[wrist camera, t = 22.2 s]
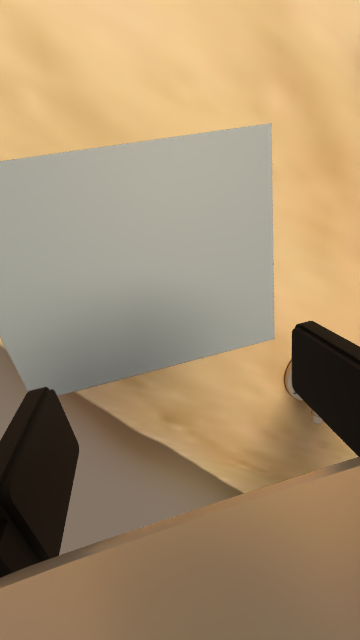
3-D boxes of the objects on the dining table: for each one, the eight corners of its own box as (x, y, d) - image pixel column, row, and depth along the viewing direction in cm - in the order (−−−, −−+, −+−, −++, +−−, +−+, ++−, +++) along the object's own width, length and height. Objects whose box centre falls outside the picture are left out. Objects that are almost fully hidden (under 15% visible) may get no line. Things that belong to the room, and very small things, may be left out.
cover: (268, 334, 30) (274, 338, 29) (36, 394, 27) (33, 402, 25) (263, 127, 22) (271, 123, 21) (-71, 175, 18) (-83, 173, 17)
